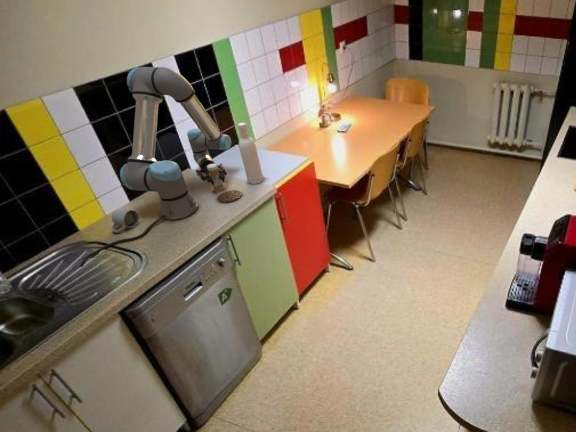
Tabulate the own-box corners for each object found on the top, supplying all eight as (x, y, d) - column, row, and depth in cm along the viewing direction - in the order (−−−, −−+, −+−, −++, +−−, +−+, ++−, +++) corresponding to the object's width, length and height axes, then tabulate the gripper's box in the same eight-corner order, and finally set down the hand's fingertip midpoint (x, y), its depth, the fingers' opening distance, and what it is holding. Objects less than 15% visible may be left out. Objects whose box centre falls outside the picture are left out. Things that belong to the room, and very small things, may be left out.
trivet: (222, 205, 192) (221, 204, 192) (214, 196, 200) (214, 195, 200) (245, 197, 198) (244, 196, 197) (236, 189, 205) (236, 187, 205)
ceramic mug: (127, 219, 187) (120, 204, 182) (142, 221, 184) (135, 206, 180) (108, 232, 178) (100, 217, 174) (123, 235, 176) (115, 220, 172)
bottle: (266, 176, 215) (253, 120, 199) (260, 184, 208) (246, 126, 192) (251, 176, 216) (237, 120, 200) (245, 183, 210) (230, 126, 194)
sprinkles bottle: (212, 191, 205) (204, 166, 198) (218, 187, 208) (211, 162, 201) (219, 192, 203) (211, 167, 196) (226, 188, 207) (218, 163, 199)
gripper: (225, 166, 221) (238, 182, 204) (191, 175, 213) (201, 193, 196) (221, 153, 217) (234, 169, 200) (187, 162, 209) (196, 179, 192)
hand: (218, 181), depth 198 cm, fingers closed on sprinkles bottle, 4 cm apart
